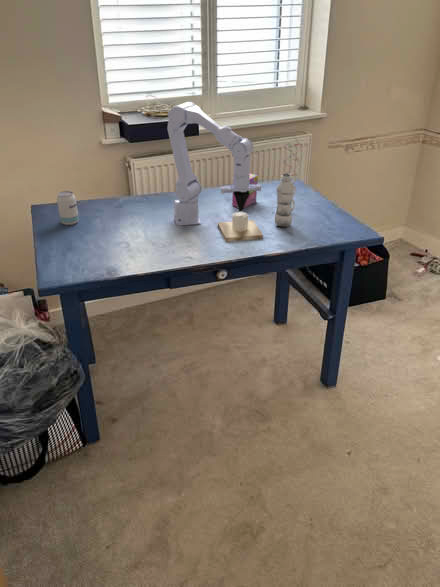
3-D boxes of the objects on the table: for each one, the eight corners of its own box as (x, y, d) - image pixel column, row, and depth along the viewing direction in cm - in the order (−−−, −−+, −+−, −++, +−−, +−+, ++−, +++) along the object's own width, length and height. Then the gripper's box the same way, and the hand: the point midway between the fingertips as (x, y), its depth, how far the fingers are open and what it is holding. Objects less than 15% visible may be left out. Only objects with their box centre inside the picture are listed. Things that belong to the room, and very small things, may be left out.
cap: (234, 232, 187) (234, 218, 185) (231, 226, 192) (231, 212, 189) (248, 230, 188) (249, 217, 186) (245, 225, 193) (245, 211, 190)
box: (242, 208, 211) (243, 181, 205) (231, 205, 214) (232, 178, 208) (256, 201, 218) (258, 175, 212) (245, 198, 221) (246, 172, 215)
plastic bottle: (290, 229, 193) (295, 178, 183) (273, 227, 195) (276, 177, 184) (292, 222, 199) (296, 173, 188) (275, 221, 200) (278, 172, 190)
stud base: (225, 241, 184) (225, 227, 181) (217, 226, 196) (217, 212, 193) (262, 238, 186) (263, 224, 184) (252, 223, 198) (253, 210, 195)
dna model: (294, 215, 205) (301, 140, 190) (278, 214, 206) (284, 140, 191) (294, 209, 211) (301, 136, 195) (279, 208, 212) (284, 135, 196)
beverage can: (72, 227, 193) (68, 197, 187) (57, 225, 195) (52, 195, 189) (82, 220, 199) (78, 191, 193) (67, 218, 201) (62, 189, 194)
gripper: (224, 179, 175) (223, 216, 182) (264, 176, 177) (262, 213, 184) (219, 173, 181) (219, 208, 188) (258, 170, 183) (257, 206, 190)
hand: (240, 210), depth 186 cm, fingers closed
